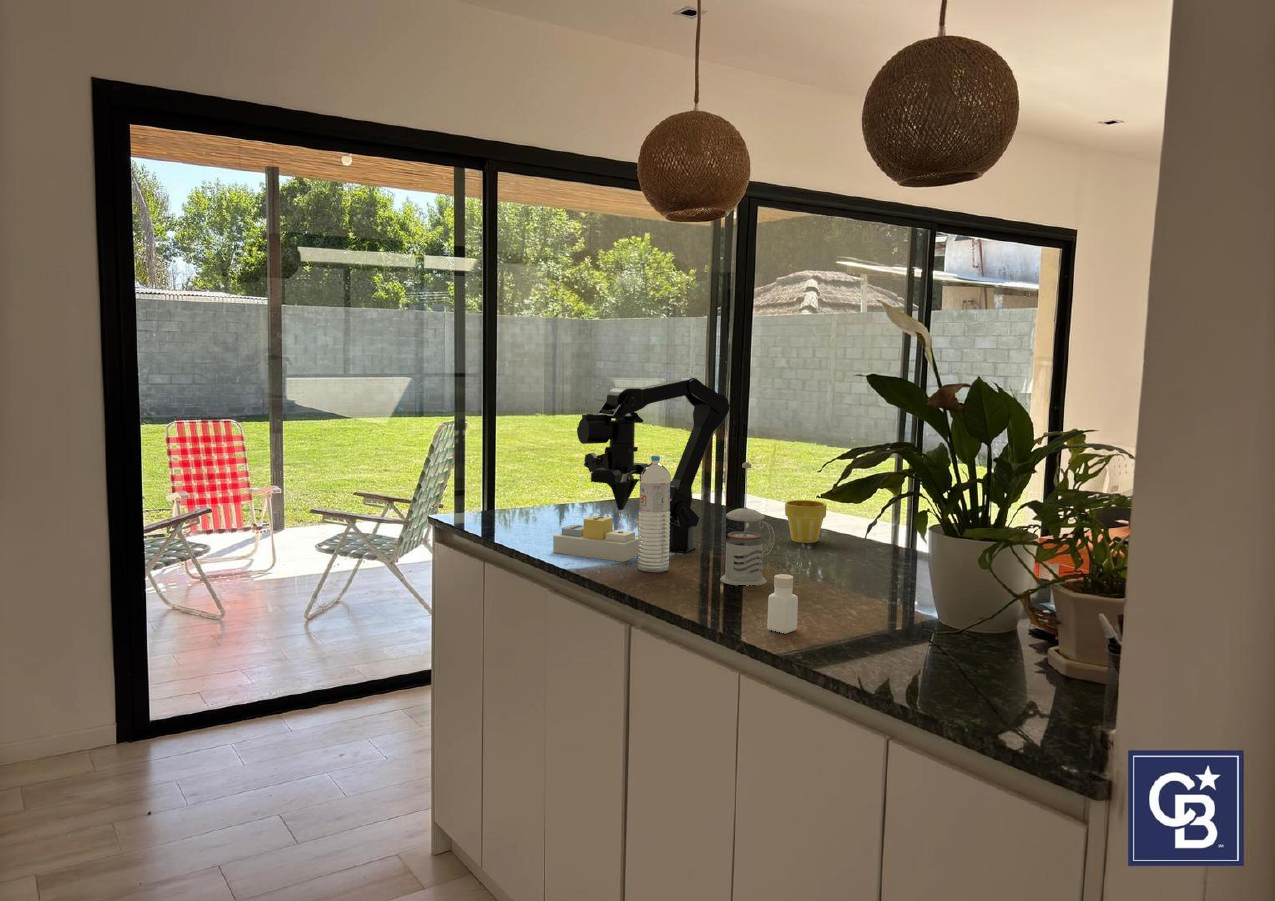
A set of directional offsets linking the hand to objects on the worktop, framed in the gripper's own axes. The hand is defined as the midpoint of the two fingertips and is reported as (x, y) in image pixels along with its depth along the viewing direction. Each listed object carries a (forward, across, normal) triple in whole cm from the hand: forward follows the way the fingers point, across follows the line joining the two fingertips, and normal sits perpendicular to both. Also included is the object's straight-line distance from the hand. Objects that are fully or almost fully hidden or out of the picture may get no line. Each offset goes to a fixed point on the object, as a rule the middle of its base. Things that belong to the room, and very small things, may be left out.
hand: (620, 509), depth 217 cm
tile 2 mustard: (+8, 0, -6) cm, 10 cm away
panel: (+11, 0, -6) cm, 12 cm away
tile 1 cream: (+10, 0, 0) cm, 10 cm away
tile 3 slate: (+10, 0, -12) cm, 16 cm away
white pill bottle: (+11, +37, +52) cm, 65 cm away
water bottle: (+11, +8, +13) cm, 19 cm away
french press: (+11, +6, +34) cm, 36 cm away
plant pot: (+11, -41, +32) cm, 53 cm away
